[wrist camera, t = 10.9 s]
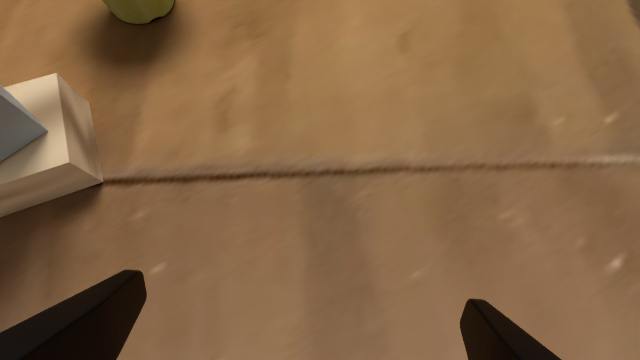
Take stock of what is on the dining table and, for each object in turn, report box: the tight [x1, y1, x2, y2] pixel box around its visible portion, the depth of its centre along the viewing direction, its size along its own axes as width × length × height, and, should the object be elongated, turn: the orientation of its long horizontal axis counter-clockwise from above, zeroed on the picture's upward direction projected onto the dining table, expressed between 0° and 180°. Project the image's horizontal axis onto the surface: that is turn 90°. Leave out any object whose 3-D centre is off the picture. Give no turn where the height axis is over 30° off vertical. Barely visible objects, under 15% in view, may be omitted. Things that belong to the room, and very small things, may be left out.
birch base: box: [0, 73, 103, 217], centre depth 23 cm, size 8×8×4 cm
